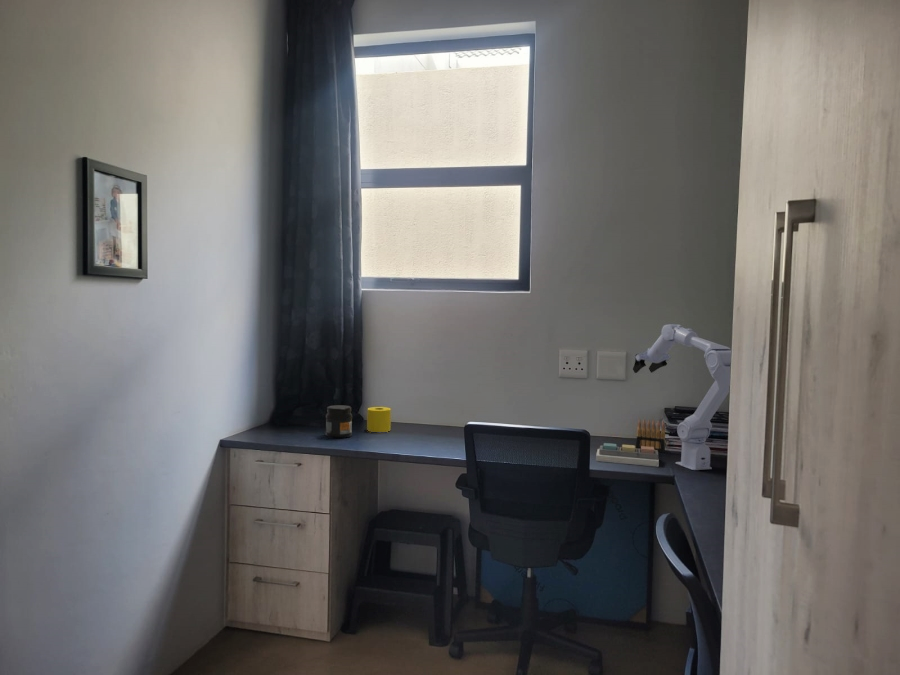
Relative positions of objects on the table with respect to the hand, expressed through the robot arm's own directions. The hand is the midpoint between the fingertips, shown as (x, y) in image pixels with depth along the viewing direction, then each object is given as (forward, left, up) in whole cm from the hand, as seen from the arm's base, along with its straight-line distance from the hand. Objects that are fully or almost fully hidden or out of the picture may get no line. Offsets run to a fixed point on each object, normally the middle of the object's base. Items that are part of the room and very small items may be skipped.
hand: (642, 370), depth 239 cm
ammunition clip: (-4, -2, -31) cm, 31 cm away
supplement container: (+44, +112, -31) cm, 124 cm away
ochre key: (-16, +16, -27) cm, 36 cm away
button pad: (-16, +16, -31) cm, 38 cm away
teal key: (-13, +21, -27) cm, 37 cm away
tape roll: (+52, +94, -31) cm, 112 cm away
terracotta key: (-20, +11, -27) cm, 35 cm away
